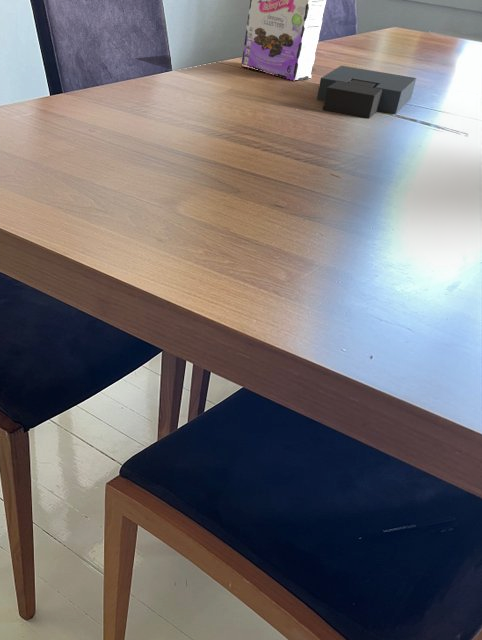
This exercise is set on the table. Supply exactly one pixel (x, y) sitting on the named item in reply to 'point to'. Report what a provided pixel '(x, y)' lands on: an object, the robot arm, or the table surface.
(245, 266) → the table surface
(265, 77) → the table surface
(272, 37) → the candy box
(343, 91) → the pad
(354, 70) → the base pad
